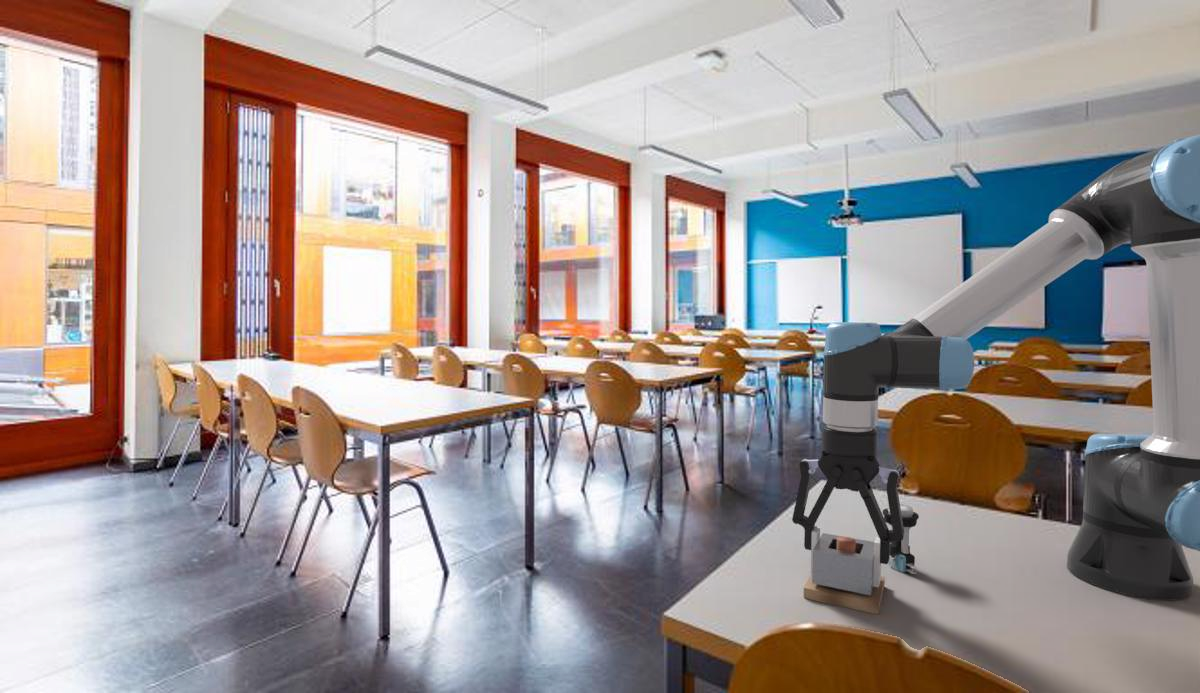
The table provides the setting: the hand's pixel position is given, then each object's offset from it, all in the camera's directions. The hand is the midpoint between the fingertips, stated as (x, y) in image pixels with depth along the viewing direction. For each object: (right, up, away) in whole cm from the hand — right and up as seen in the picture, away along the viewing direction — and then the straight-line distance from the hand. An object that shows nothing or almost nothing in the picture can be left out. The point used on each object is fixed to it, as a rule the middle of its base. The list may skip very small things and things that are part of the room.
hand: (845, 576), depth 93 cm
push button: (+13, -2, +9) cm, 16 cm away
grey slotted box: (0, 0, 0) cm, 0 cm away
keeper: (0, -2, 0) cm, 2 cm away
